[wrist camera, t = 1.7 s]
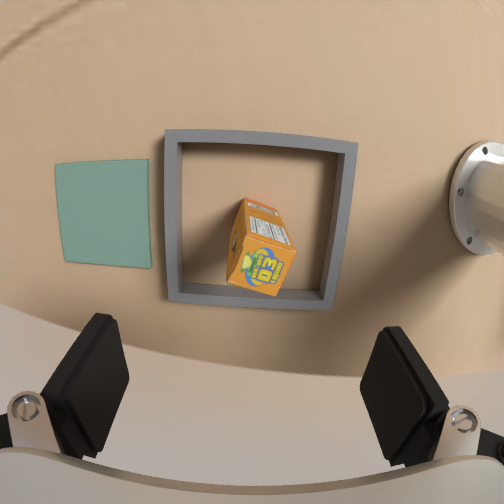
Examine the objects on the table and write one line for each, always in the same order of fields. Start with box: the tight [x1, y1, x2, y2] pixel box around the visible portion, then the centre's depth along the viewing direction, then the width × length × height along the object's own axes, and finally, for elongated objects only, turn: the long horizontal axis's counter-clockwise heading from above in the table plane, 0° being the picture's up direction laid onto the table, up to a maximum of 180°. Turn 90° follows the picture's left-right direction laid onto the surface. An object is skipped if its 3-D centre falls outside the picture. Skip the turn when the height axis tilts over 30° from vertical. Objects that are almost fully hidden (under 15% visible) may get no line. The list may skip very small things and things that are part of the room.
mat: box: [55, 159, 152, 268], centre depth 25 cm, size 10×10×1 cm
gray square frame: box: [164, 129, 358, 310], centre depth 25 cm, size 15×15×2 cm
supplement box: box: [226, 198, 297, 296], centre depth 21 cm, size 3×4×10 cm
